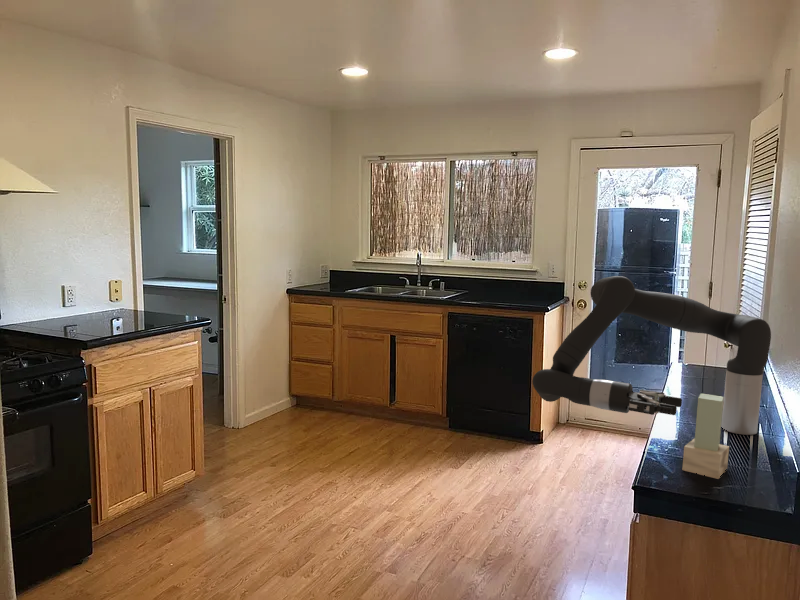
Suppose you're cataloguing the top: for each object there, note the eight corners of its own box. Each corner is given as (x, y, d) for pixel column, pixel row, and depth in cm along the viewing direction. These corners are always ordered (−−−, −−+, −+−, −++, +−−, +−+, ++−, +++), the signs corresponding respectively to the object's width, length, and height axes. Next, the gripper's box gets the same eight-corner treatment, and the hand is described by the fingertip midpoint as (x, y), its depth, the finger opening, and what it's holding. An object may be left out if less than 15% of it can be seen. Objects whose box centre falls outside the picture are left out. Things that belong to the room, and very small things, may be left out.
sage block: (696, 441, 158) (700, 393, 157) (719, 445, 156) (723, 396, 154) (693, 447, 154) (698, 397, 153) (717, 451, 152) (721, 401, 150)
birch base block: (692, 461, 161) (694, 438, 161) (726, 470, 156) (729, 446, 156) (682, 470, 155) (684, 446, 154) (718, 479, 150) (720, 454, 149)
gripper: (605, 386, 160) (675, 397, 151) (618, 376, 172) (684, 385, 163) (602, 416, 160) (673, 429, 152) (616, 403, 173) (681, 414, 164)
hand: (678, 406), depth 158 cm, fingers open, 8 cm apart
